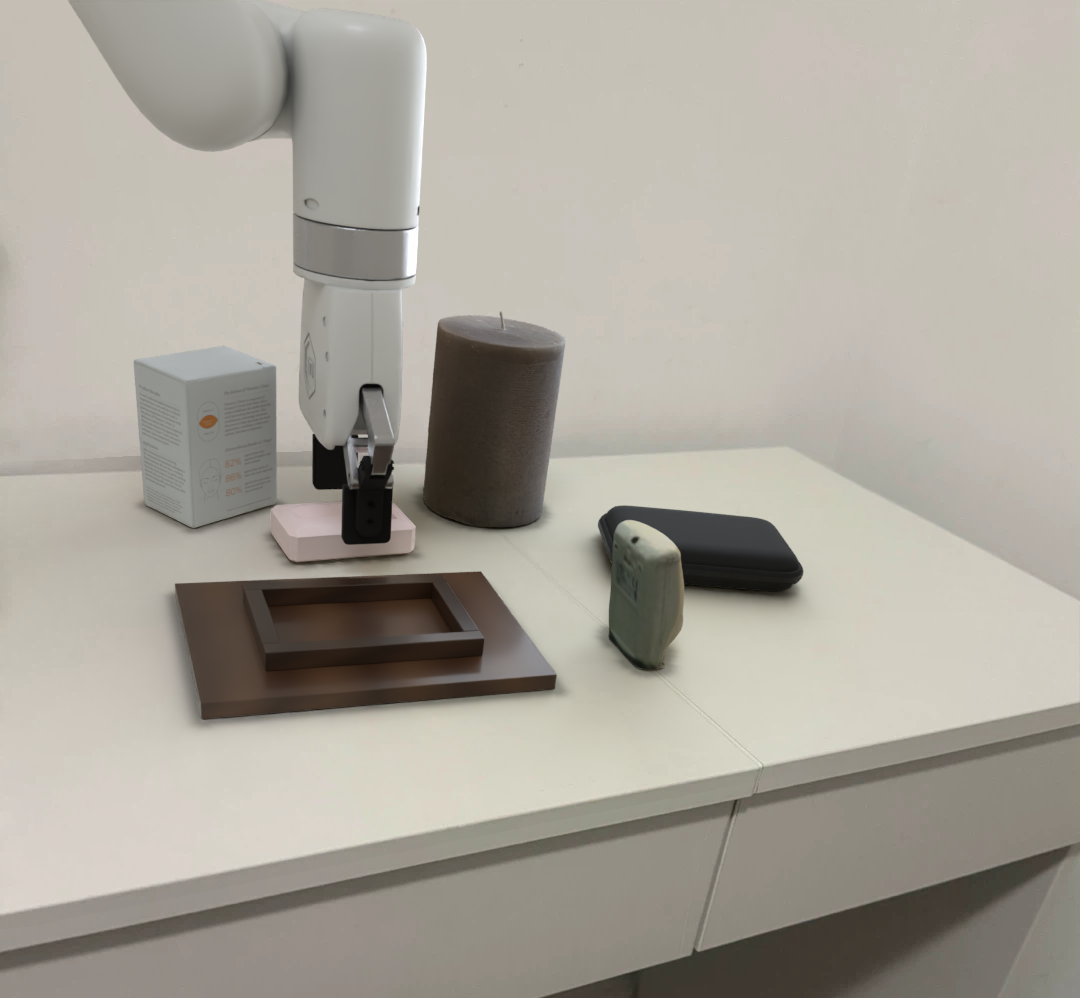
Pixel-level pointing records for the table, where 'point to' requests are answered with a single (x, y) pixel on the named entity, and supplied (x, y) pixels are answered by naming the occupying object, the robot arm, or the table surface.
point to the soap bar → (332, 533)
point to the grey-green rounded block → (645, 594)
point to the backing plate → (352, 642)
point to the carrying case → (716, 547)
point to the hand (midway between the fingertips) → (349, 513)
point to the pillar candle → (491, 419)
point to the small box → (207, 433)
